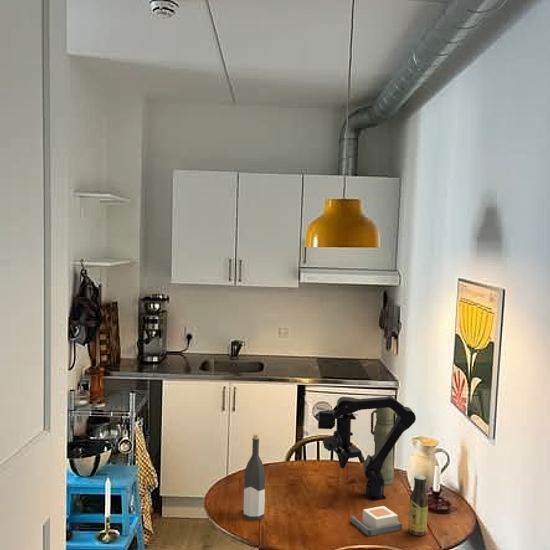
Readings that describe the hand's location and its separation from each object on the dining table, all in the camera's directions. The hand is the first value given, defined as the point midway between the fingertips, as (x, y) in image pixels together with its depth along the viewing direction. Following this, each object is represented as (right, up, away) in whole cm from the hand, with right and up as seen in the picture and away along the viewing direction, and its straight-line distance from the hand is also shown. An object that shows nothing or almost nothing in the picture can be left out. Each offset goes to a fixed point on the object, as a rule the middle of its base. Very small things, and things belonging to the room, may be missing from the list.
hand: (342, 468), depth 232 cm
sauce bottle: (+23, -13, -30) cm, 40 cm away
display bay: (+9, -12, -25) cm, 29 cm away
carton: (+10, -12, -25) cm, 30 cm away
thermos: (+19, -11, +16) cm, 27 cm away
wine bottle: (-35, -11, -21) cm, 42 cm away
